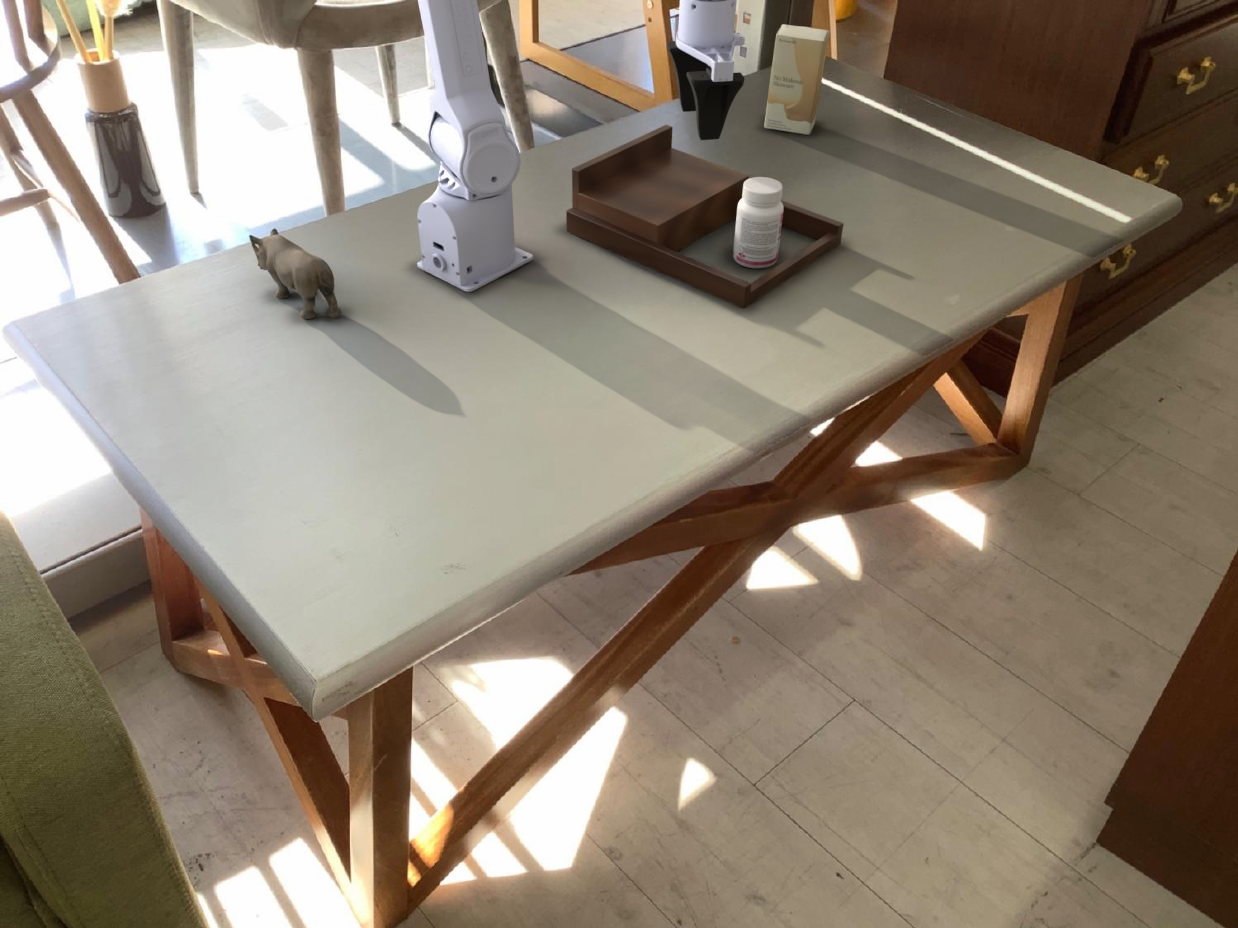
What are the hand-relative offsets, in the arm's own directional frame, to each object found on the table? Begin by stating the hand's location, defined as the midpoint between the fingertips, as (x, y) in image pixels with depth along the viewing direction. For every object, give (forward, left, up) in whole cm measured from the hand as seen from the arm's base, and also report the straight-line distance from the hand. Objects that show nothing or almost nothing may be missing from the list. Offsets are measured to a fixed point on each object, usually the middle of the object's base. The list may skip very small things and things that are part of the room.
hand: (700, 124), depth 119 cm
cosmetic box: (+28, +5, -10) cm, 30 cm away
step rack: (-4, -5, -10) cm, 12 cm away
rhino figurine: (-41, +18, -10) cm, 47 cm away
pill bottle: (-4, -12, -10) cm, 16 cm away
